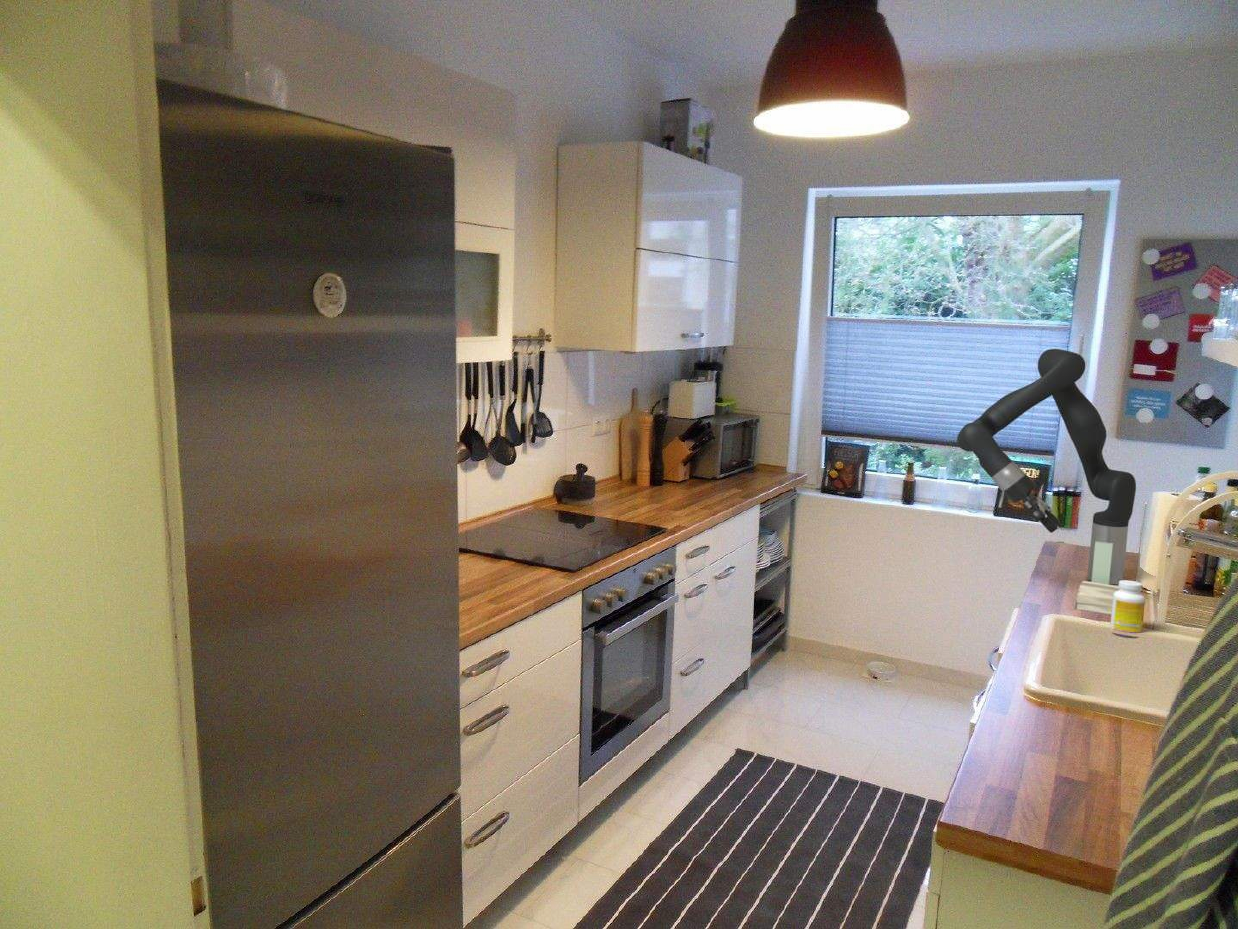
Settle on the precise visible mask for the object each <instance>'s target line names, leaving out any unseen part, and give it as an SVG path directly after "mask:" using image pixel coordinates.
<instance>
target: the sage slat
mask: <svg viewBox="0 0 1238 929" xmlns="http://www.w3.org/2000/svg"><path fill="white" fill-rule="evenodd" d="M1112 549H1113V543H1104V542H1095V551H1094V561H1093V572H1092V581H1091V582H1094V583H1101V584H1107V585H1110V584H1109V580H1110V569H1111V559H1112Z"/></svg>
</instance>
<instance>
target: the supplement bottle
mask: <svg viewBox="0 0 1238 929" xmlns="http://www.w3.org/2000/svg"><path fill="white" fill-rule="evenodd" d="M1142 586H1143V584H1142V583H1140V582H1138V581H1135V580H1125V579H1123V580H1121V581H1119V588H1120V589H1119V591H1116V592H1115V593H1114V594H1113V603H1112V613H1111V615H1110V625H1109V628H1111V629H1112V630H1114V631H1118V632H1121V633H1116V632H1112V634H1113V635H1114V636H1116V637H1121V638H1125V639H1138V638H1140V636H1135V635H1128V634H1141V633H1142V632H1143V625H1144V624H1143V623H1144V613H1145V605H1146V604H1145V603H1146V598H1145V596H1144V595H1143V594H1142V593H1141V590H1142ZM1122 633H1127V634H1122Z"/></svg>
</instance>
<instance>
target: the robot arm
mask: <svg viewBox="0 0 1238 929" xmlns="http://www.w3.org/2000/svg"><path fill="white" fill-rule="evenodd" d="M1037 360H1038V361H1037V370H1038V374H1039V376H1040V378H1038V379H1036V380H1035V381H1033V382H1030V384H1027V385H1025V386H1023V387H1020V388H1018V389H1016V390H1013V391H1012V392H1009V393H1007V394H1006V395H1004V396H1002V397H1001V398H1000V399H998V400H997V401H996V402H994V403H993V404H992V405H991V406H989V407H988V408H987V409H986V410H985V411H984V412H982V414H981V415H980V416H979V417H977V418H976V419H975V420H973V421H971V422H969V423H967V424H964V426H963V427H962V428H961V429H960V431H959V432H958V434H957V437H956V442H957V445H958V447H959V448H960V449H961V450H963V451H964V452H972V453H973V454H974V455H975V456H976V458H977V459H978V461H979V462H978V463H979V465H980V467H981V468H982V469H983V470H984V471H985V473H987V475H988V476H989V477H990V478H991V479H992V480H993V482H994V483H995V485H997V487H998V488H999V490H1001V491H1002V492H1003V493H1004V495H1006V497H1007V498H1008V499H1009V500H1010V501H1011V502H1012V503H1013V504H1016V503H1018V502H1019V501H1022V503H1021V506H1022V507H1023V508H1024V509H1025V510H1026V511H1027V512H1028V514H1029V515H1030V516H1031V517H1032V518H1033V519H1034V521H1035V522H1038V523H1041V524H1042V526H1043V527H1044V528H1046V530H1047V531H1048V532H1049V533H1054V532H1056V531H1057V529H1058V527H1059V526H1060V525H1061V522H1062V521H1060V520H1059V519H1058V518H1057V517H1056V516H1055V514H1054V513H1053V512H1052V508H1051V507H1050V506H1049V505H1048V504H1047V503H1046V502H1045V501H1044V500H1043V499H1042V498H1041V497H1040V495H1039V494H1038V493H1037V492H1034V493H1033V491H1034V490H1035V489H1036V488H1037V484H1036V483H1035V482H1034V481H1033V480H1031V478H1030V477H1029V476H1028V475H1027V474H1026V473H1025V472H1024V471H1023V469H1022V468H1021V467H1020V466H1018V465H1017V464H1016V463H1015V462H1014V461H1013V460H1012V459H1011V458H1010V457H1009V456H1008V455H1007V454H1006V452H1004V451H1003V450H1002V449H1001V448H1000V446H999V444H998V442H997V441H996V440H995V438H994V436H996V434H997V433H999V432H1001V431H1002V430H1004V429H1005V428H1007V427H1009V425H1010V424H1012V423H1013V422H1014V421H1016V420H1017V419H1018V418H1019V417H1021V416H1022V415H1023V414H1025V413H1026V412H1027V411H1029V410H1031V409H1032V408H1033V407H1035V406H1037V405H1039V404H1040V403H1041V402H1043V401H1045V400H1047V399H1048V398H1050V397H1052V398H1053V400H1054V403H1055V404H1056V408H1057V409H1058V410H1057V411H1058V412H1059V414H1060V415H1061V418H1062V421H1063V422H1064V425H1065V429H1066V430H1067V433H1068V435H1069V438H1070V439H1071V441H1072V443H1073V446H1074V448H1075V450H1076V453H1077V455H1078V457H1079V460H1080V462H1081V465H1082V469H1083V472H1084V476H1085V478H1086V482H1087V485H1088V489H1089V490H1090V492H1091V494H1092V496H1094V497H1095V498H1097V499H1099V500H1102V501H1108V506H1107V508H1106V509H1105V510H1103V511H1096V512H1095V513H1093V515H1092V523H1091V524H1092V525H1091V536H1090V537H1091V538H1090V546H1089V556H1088V557H1089V559H1088V568H1087V570H1088V571H1087V577H1086V579H1087V580H1089V581H1090V582H1092V572H1093V561H1094V551H1095V542H1104V543H1113V549H1112V559H1111V569H1110V580H1109V585H1118V580H1124V572H1125V562H1126V554H1127V542H1128V535H1129V534H1128V532H1129V524H1130V519H1131V517H1132V515H1133V510H1134V505H1135V497H1136V491H1137V483H1136V479H1135V478H1136V477H1135V476H1134V475H1133V474H1132V473H1130V472H1127V471H1123V470H1115V469H1111V468H1109V467H1108V465H1107V463H1106V461H1105V458H1104V455H1103V449H1104V447H1105V444H1106V440H1107V429H1106V426H1105V424H1104V421H1103V419H1102V416H1101V415H1100V413H1099V411H1098V409H1097V408H1096V407H1095V406H1094V405H1093V403H1092V402H1091V401H1090V400H1089V399H1088V398H1087V396H1085V395H1084V393H1083V392H1082V391H1081V390H1080V388H1078V386H1077V383H1076V382H1077V381H1079V379H1081V378H1082V377H1083V375H1084V373H1085V372H1086V371H1085V370H1086V361H1085V359H1084V357H1083V356H1082V355H1080V354H1079V353H1076V352H1075V351H1069V350H1066V349H1060V348H1049V349H1047V350H1044V351H1043V352H1042V353H1041V354H1040V355H1039V358H1038V359H1037Z"/></svg>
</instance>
